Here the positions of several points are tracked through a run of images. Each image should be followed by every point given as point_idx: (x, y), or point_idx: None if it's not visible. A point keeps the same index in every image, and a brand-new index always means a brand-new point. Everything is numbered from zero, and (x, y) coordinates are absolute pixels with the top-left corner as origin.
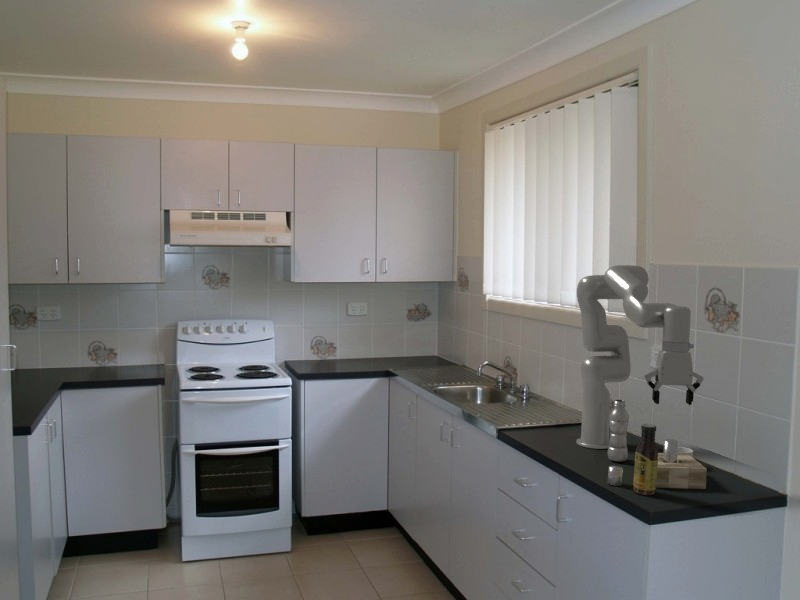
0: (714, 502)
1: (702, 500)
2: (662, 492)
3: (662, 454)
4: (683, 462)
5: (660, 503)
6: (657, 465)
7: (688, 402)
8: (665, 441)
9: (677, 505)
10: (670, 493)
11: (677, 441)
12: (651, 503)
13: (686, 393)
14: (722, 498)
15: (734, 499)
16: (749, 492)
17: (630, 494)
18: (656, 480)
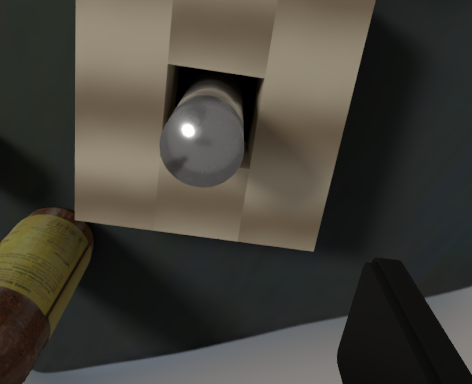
0: (255, 326)
1: (227, 310)
2: (126, 237)
3: (217, 3)
4: (259, 157)
5: (82, 325)
6: (56, 325)
7: (346, 355)
8: (161, 156)
9: (128, 341)
10: (150, 247)
11: (236, 164)
12: None
13: (407, 360)
14: (303, 298)
15: (336, 307)
16: (436, 253)
17: None
18: (80, 279)
